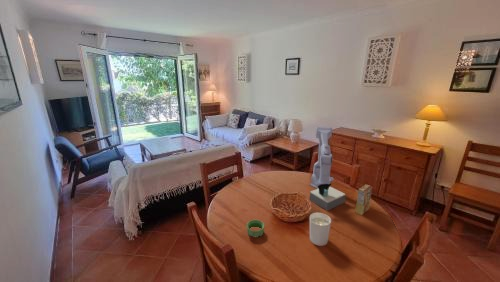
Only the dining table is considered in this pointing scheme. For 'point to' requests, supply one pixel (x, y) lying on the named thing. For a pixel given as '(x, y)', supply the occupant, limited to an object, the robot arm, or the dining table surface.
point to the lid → (328, 194)
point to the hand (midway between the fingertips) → (323, 193)
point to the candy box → (363, 199)
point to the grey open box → (324, 204)
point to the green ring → (255, 224)
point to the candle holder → (319, 228)
